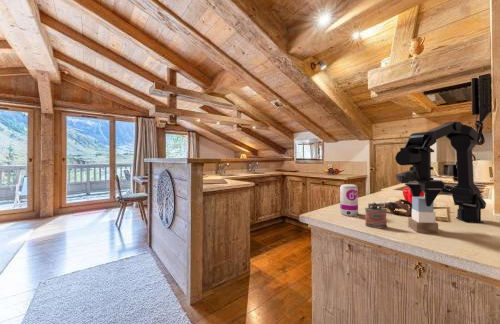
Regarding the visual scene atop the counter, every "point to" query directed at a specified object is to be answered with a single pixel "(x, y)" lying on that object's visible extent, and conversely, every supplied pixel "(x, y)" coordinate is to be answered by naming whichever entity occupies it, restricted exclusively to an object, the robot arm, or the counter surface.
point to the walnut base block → (423, 226)
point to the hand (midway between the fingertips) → (421, 203)
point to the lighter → (376, 215)
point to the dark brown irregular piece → (400, 204)
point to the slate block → (421, 205)
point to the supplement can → (348, 200)
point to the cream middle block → (423, 216)
